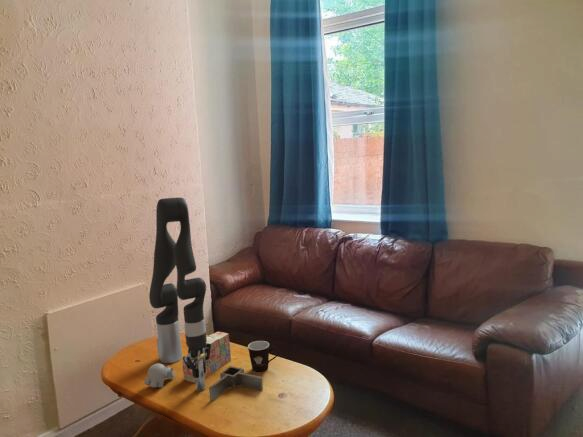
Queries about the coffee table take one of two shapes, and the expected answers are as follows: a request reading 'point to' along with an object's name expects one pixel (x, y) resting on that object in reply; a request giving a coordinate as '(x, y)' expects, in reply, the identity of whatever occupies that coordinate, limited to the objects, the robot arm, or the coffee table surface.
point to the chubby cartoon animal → (158, 375)
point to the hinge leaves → (234, 381)
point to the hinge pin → (200, 373)
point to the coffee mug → (260, 355)
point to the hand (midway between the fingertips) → (199, 374)
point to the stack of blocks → (213, 355)
